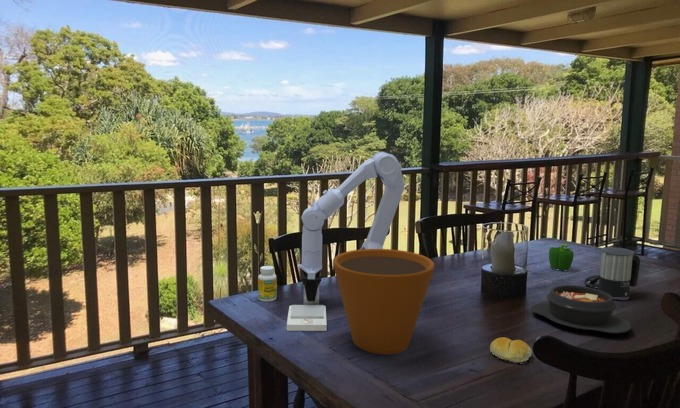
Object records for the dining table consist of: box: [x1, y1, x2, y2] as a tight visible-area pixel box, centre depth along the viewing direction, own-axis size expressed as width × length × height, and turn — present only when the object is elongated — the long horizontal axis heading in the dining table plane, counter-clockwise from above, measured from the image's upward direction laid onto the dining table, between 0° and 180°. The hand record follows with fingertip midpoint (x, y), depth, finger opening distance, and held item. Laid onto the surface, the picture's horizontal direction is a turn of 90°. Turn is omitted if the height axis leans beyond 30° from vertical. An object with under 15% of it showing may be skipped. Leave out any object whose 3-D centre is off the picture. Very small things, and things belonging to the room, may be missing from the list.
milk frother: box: [584, 246, 641, 297], centre depth 168 cm, size 14×16×15 cm
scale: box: [286, 304, 328, 332], centre depth 139 cm, size 10×14×2 cm
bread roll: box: [489, 336, 533, 362], centre depth 121 cm, size 8×9×4 cm
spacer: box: [303, 285, 320, 305], centre depth 151 cm, size 4×4×6 cm
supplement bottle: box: [257, 265, 278, 303], centre depth 155 cm, size 5×5×10 cm
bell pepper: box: [548, 243, 574, 271], centre depth 193 cm, size 8×8×10 cm
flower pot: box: [332, 248, 435, 355], centre depth 126 cm, size 24×24×20 cm
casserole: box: [530, 284, 632, 335], centre depth 141 cm, size 25×19×8 cm
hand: (311, 296), depth 151 cm, fingers open, 7 cm apart
